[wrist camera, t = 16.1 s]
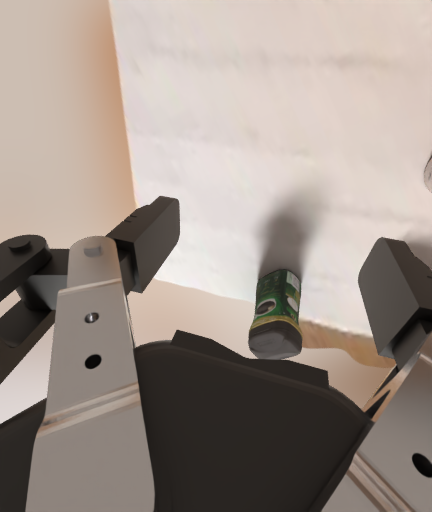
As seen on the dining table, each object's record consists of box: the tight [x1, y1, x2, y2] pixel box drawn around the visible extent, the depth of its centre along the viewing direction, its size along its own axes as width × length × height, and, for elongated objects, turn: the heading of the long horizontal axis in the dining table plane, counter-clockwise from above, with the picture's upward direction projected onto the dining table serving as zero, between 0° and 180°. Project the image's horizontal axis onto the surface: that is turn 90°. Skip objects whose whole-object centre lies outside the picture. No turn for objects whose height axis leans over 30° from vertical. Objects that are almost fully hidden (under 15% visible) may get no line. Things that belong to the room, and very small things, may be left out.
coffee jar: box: [248, 270, 303, 360], centre depth 51 cm, size 10×8×19 cm
